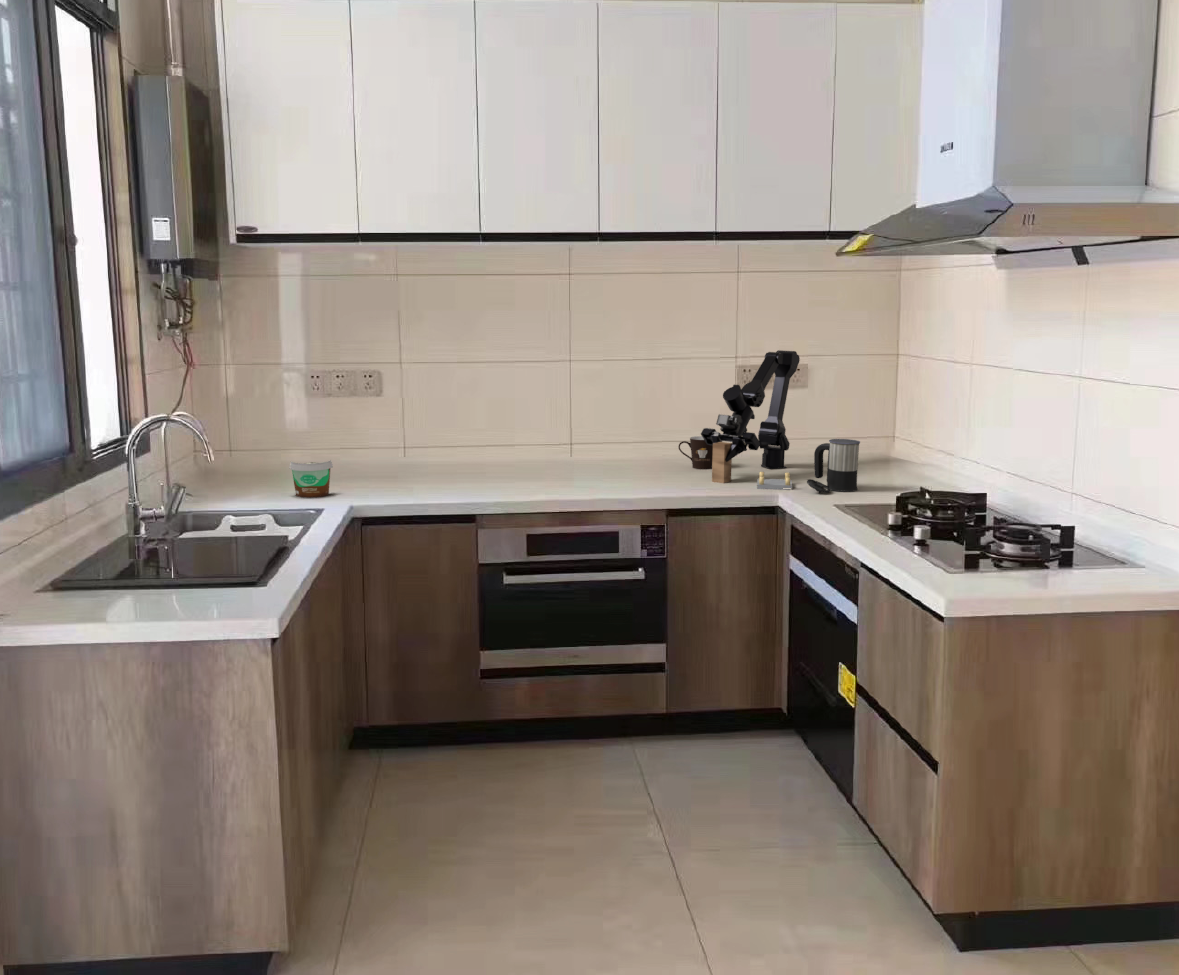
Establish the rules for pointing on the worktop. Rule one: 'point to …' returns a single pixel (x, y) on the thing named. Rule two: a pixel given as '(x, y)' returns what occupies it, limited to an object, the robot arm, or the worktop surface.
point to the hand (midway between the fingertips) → (719, 460)
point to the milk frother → (837, 466)
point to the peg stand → (774, 482)
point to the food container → (311, 478)
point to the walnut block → (721, 463)
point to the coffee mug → (699, 453)
